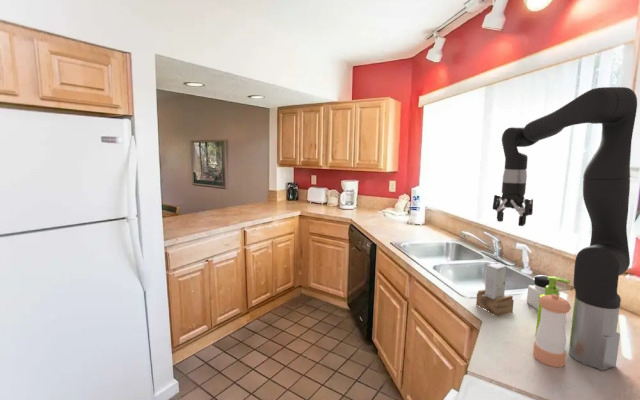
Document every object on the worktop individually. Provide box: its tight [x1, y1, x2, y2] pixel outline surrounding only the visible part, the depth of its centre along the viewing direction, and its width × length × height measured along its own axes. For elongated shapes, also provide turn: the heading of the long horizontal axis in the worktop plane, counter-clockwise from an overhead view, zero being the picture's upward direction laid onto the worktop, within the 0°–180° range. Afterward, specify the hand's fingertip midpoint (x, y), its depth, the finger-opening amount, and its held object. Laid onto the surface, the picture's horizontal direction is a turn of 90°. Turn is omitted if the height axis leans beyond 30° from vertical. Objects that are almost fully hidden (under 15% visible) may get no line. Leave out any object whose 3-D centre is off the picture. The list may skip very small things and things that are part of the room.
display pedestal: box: [475, 289, 514, 317], centre depth 115 cm, size 9×8×6 cm
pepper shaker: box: [532, 294, 572, 368], centre depth 85 cm, size 7×7×19 cm
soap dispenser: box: [535, 275, 570, 334], centre depth 95 cm, size 6×7×20 cm
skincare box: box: [484, 262, 507, 300], centre depth 114 cm, size 6×4×12 cm
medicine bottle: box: [526, 274, 560, 311], centre depth 116 cm, size 7×7×12 cm
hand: (510, 223), depth 116 cm, fingers open, 8 cm apart
